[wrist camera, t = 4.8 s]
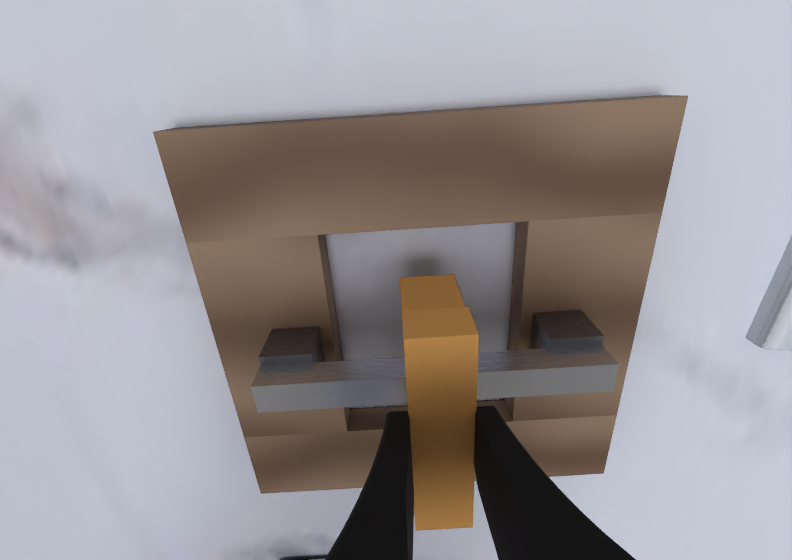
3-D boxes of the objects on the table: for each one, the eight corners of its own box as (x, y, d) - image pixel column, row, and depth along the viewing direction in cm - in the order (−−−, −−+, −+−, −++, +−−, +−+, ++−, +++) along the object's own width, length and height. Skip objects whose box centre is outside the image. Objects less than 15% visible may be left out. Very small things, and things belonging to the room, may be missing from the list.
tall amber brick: (453, 429, 18) (472, 527, 14) (409, 431, 18) (415, 530, 14) (453, 266, 15) (479, 334, 11) (399, 270, 15) (403, 339, 11)
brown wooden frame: (590, 450, 22) (603, 473, 21) (268, 469, 23) (261, 493, 21) (660, 95, 15) (688, 95, 13) (174, 128, 15) (152, 131, 14)
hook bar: (575, 349, 18) (611, 399, 15) (280, 367, 18) (259, 420, 15) (581, 309, 17) (620, 354, 14) (272, 328, 17) (248, 377, 14)
